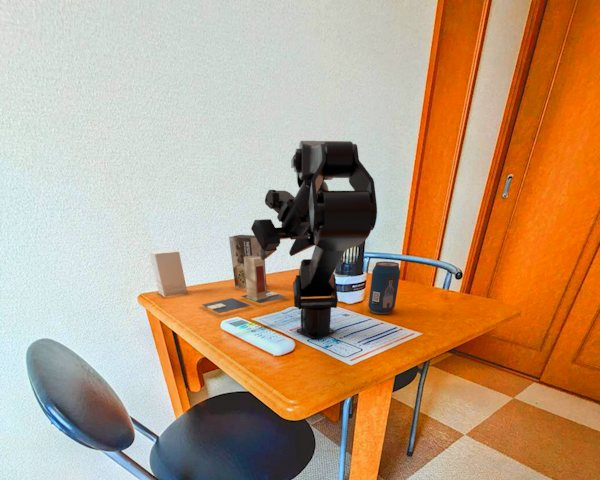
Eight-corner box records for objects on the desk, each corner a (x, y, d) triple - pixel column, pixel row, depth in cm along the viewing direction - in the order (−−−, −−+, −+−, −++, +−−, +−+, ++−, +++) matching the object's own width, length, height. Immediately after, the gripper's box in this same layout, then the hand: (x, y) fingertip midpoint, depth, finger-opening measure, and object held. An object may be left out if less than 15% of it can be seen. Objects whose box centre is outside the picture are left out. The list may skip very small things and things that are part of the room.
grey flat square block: (287, 300, 94) (287, 295, 93) (260, 306, 89) (259, 302, 88) (267, 293, 100) (267, 289, 100) (241, 299, 95) (240, 295, 94)
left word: (251, 308, 87) (250, 304, 86) (219, 316, 82) (218, 311, 81) (232, 301, 93) (232, 296, 93) (201, 308, 88) (201, 303, 87)
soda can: (377, 305, 89) (383, 260, 82) (398, 310, 84) (406, 263, 78) (362, 310, 85) (367, 263, 78) (384, 316, 80) (392, 267, 74)
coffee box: (267, 289, 105) (264, 235, 96) (255, 293, 101) (250, 237, 92) (247, 285, 109) (242, 233, 100) (234, 289, 105) (228, 235, 96)
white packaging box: (188, 294, 100) (179, 251, 93) (164, 298, 96) (153, 253, 89) (181, 290, 105) (172, 248, 98) (158, 293, 101) (147, 250, 94)
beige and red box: (266, 298, 92) (264, 257, 86) (257, 300, 90) (253, 259, 84) (256, 294, 95) (253, 255, 89) (247, 296, 93) (243, 256, 87)
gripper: (319, 175, 72) (289, 227, 85) (251, 173, 61) (230, 232, 74) (342, 216, 71) (309, 262, 84) (278, 221, 61) (251, 272, 74)
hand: (276, 256), depth 79 cm, fingers open, 9 cm apart
